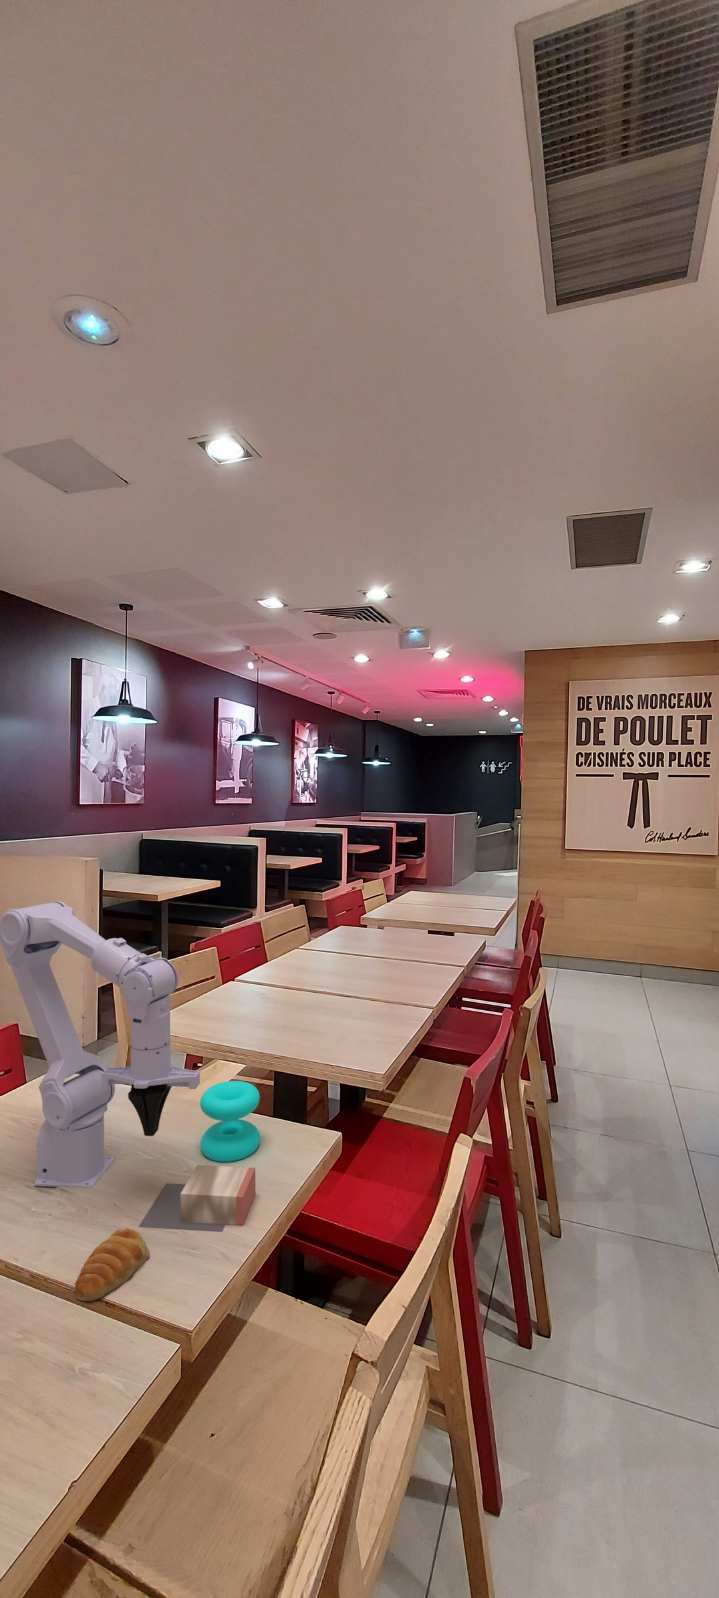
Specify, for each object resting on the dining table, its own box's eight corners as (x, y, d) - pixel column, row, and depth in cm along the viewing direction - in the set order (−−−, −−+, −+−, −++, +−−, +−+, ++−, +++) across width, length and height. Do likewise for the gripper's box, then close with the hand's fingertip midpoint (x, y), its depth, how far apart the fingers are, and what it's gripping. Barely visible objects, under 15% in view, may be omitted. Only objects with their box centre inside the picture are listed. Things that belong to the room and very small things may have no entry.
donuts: (264, 1078, 116) (253, 1105, 106) (264, 1134, 116) (253, 1166, 106) (208, 1077, 116) (192, 1105, 106) (209, 1133, 116) (193, 1165, 106)
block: (180, 1193, 92) (242, 1197, 91) (197, 1165, 98) (255, 1168, 98) (180, 1221, 92) (243, 1225, 91) (197, 1191, 99) (255, 1194, 98)
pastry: (106, 1314, 76) (105, 1282, 76) (59, 1301, 78) (58, 1270, 78) (153, 1258, 85) (153, 1230, 85) (110, 1248, 87) (110, 1220, 87)
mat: (138, 1229, 91) (138, 1226, 91) (166, 1186, 101) (166, 1183, 101) (222, 1234, 89) (222, 1231, 89) (241, 1190, 99) (241, 1187, 99)
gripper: (90, 1052, 94) (91, 1145, 94) (188, 1055, 93) (188, 1149, 93) (113, 1033, 101) (114, 1120, 101) (204, 1036, 100) (204, 1124, 100)
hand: (151, 1132), depth 97 cm, fingers closed
